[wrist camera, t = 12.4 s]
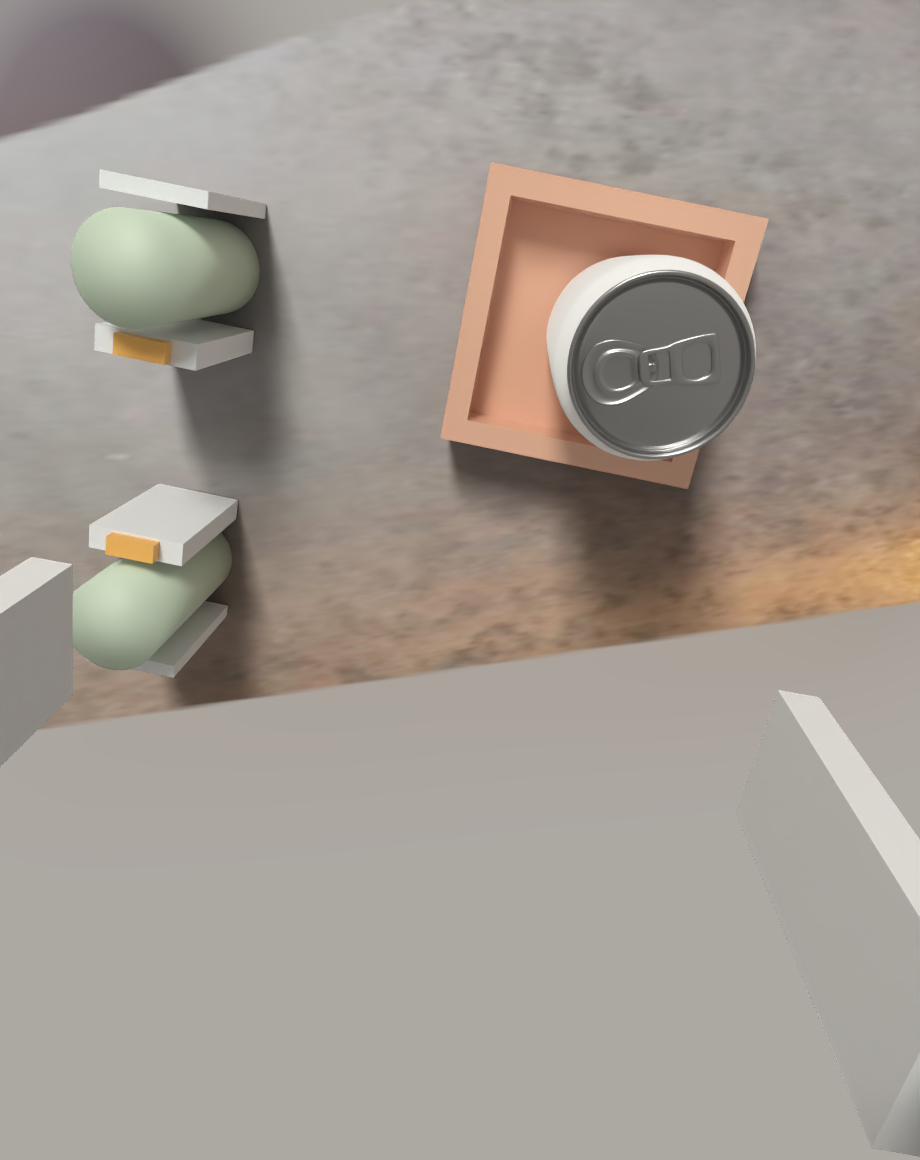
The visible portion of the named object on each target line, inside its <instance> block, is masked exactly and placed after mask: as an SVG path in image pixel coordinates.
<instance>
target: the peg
mask: <svg viewBox="0 0 920 1160" xmlns="http://www.w3.org/2000/svg"><path fill="white" fill-rule="evenodd" d="M231 567H232V552H231V548H230V546H229V543H228V541H227V540H226V538H225V537H224V535H223V534H222V533H221V532H220V533H219V534H218V535H217V536H216V537H215V538H214V539H212V540H211V541H210V542H209V543H208V544H207V545H205V546H204V547H203V548H202V549H201V550H200V551H199V552H197V553H196V554H195V555H194V556H193V557H192V558H191V559H189V560H188V561H187V562H186V563H185V564H184V565H182V566H178V565H173V564H168V563H163V562H159V561H156V562H154V563H153V564H150V563H145V562H140V561H136V560H131V559H126V558H119V559H118V560H117V561H115V562H114V563H112V564H111V565H110V566H108V567H107V568H105V569H104V570H103V571H101V572H100V573H99V574H97V575H96V576H94V577H93V578H92V579H90V580H89V581H87V582H86V583H85V584H83V585H82V586H80V587H79V588H78V589H76V590H75V591H74V592H73V646H74V647H75V648H76V649H77V651H78V652H79V653H80V654H81V655H83V656H84V657H85V658H86V659H88V660H89V661H91V662H92V663H94V664H96V665H98V666H101V667H104V668H107V669H112V670H128V669H133V668H135V667H138V666H140V665H142V664H143V663H145V662H146V661H147V660H148V659H149V658H150V657H151V656H152V655H153V654H154V653H155V652H156V651H157V650H158V649H159V648H160V647H161V646H162V645H163V644H164V643H165V642H166V641H167V640H168V639H169V638H170V637H171V636H172V635H173V634H174V632H175V631H176V630H177V629H178V628H179V627H180V626H181V625H182V624H183V623H184V622H185V621H186V620H187V619H188V618H189V617H190V616H191V615H192V614H193V613H194V612H195V611H196V610H197V609H198V608H199V607H200V606H201V605H202V603H203V602H204V601H205V600H206V599H207V598H208V597H209V596H210V595H211V594H212V593H213V592H214V591H215V590H216V589H217V588H218V587H219V586H220V585H221V584H222V583H223V582H224V581H225V580H226V578H227V577H228V575H229V573H230V570H231Z"/></svg>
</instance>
